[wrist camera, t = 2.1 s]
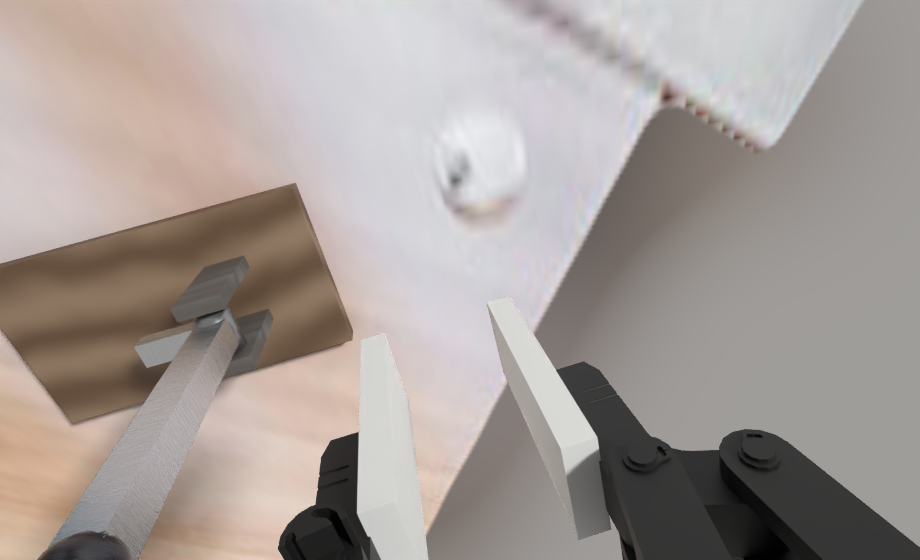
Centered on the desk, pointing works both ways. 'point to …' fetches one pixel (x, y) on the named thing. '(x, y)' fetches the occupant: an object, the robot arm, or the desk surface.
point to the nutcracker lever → (151, 442)
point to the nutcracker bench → (170, 297)
